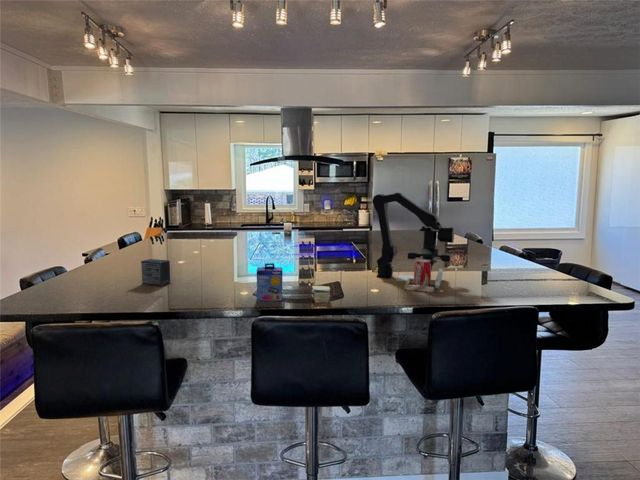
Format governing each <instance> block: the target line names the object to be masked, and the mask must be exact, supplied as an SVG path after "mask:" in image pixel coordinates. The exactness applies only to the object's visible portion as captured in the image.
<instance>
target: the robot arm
mask: <svg viewBox="0 0 640 480" xmlns="http://www.w3.org/2000/svg"><path fill="white" fill-rule="evenodd" d="M371 202H372V204H373V207H374V210H375V212H376V213H377V218H378V222H379V229H380V236H381V241H382V245H381V256H380V257H378V259H377V260H376V263H377V275H376V277H377V278H384V279H385V278H386V279H391V277H392V276H393V274H394V267H393V261H394V260H395V259H396V258H397V256H398V254H399V252H398V245H397V244H394V243H393V240H392V236H391V228H390V222H389V217H388V209H389V204H390V203H394V202H396V203H397V204H399V205H400V206H402V207H403V208H405V209H406V210H408V211H409V212H411V213H412V214H414V215H415V216H416V217H417V218H418V219H419V221H421V223H422V224H424V225H423V226H421V228H420V229H418V231H419V232H423V239H422V240H423V242H422V250H421V253H418V252H419V251H414V250H413V251H412V250H411V251H409V252H408V253H407V259H408V260H416V259H417V258H419V259H427V260H430V263H431V269H432V268H433V266H434V264H435V263H437V262H438V260H441V261H442V262H447V263H449V262H451V257H452V254H450V253H442V252H441V254H439V249H438V248H437V240H438V241H439V243H447V244H451V243H452V244H453V243H454V240H455V232H454V231H455V230H454V227H443V225H441V223H440V221H439V217H438V215H437V214H435V213H434V212H431V211H429V210H428V209H427V210H426V209H424V208H423V207H420V206H419V205H417V204H416V203H415V202H413V201H412V200H410V199H409V198H408V197H406V196H405V195H403V193H401V192H394V193H392V194H391V193H389V194H387V195H386V194H383V193H380V194H376V195H374V196H373V197H372V201H371Z"/></svg>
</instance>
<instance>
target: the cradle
mask: <svg viewBox="0 0 640 480" xmlns="http://www.w3.org/2000/svg"><path fill="white" fill-rule="evenodd" d="M435 280H436V279H431V281H430V287H429V286H418V285H414V278H408V280H407V281H406V282H405V283H404V287H403V288H404V289H407V290H406V291H415V290H417V292H425V291H427V292H426V293H435V294H441V288H440V289H435Z"/></svg>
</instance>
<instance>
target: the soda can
mask: <svg viewBox="0 0 640 480" xmlns="http://www.w3.org/2000/svg"><path fill="white" fill-rule="evenodd" d="M413 273H414V275H413V276H414V283H413V285H418V286H429V287H431V285H430V281H431V280H432V277H431V276H432V268H431V263H430V260H427V259H420V258H419V259H417V258H416V259H415V263H414V272H413Z"/></svg>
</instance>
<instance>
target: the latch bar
mask: <svg viewBox="0 0 640 480" xmlns="http://www.w3.org/2000/svg"><path fill="white" fill-rule="evenodd" d="M443 271H444V269H443V268H439V269H438V272H437V276H436V278H435V279H434V280H435V285H434V289H440V290H441V284H442V278H443V275H444V274H443V273H444V272H443Z"/></svg>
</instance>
